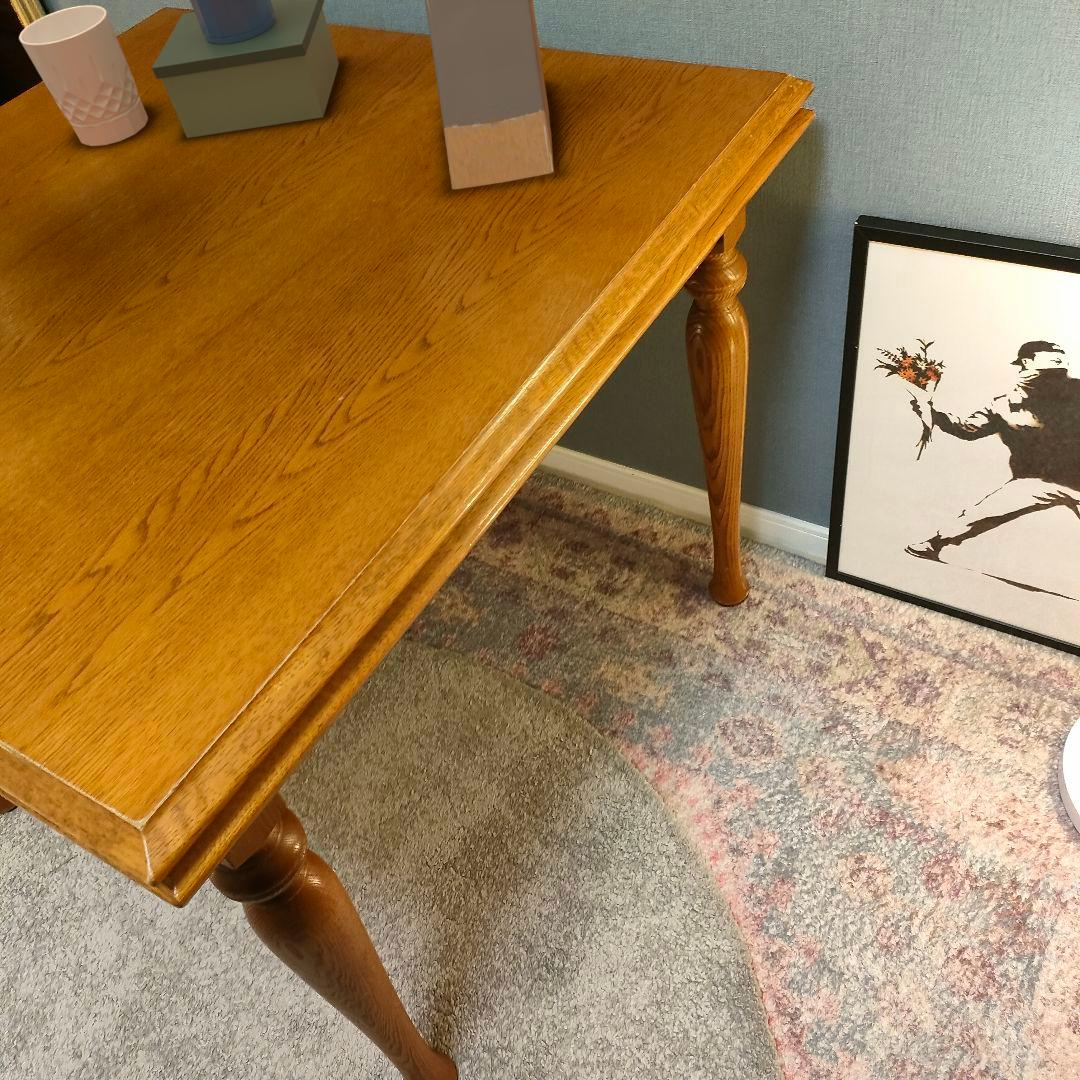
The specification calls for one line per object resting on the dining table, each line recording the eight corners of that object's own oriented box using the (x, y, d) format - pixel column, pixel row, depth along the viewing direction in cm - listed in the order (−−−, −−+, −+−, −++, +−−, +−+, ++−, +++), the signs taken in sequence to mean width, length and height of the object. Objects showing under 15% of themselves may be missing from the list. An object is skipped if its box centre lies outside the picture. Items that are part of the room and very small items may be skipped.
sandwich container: (449, 197, 79) (401, -4, 67) (451, 107, 89) (409, -81, 78) (557, 179, 78) (526, -27, 67) (546, 90, 88) (518, -101, 77)
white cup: (94, 161, 93) (38, 51, 85) (62, 138, 97) (5, 32, 90) (169, 124, 95) (120, 15, 88) (134, 103, 100) (85, -2, 92)
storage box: (184, 144, 92) (151, 67, 87) (211, 86, 100) (182, 13, 95) (327, 122, 91) (301, 43, 85) (343, 65, 98) (321, -10, 93)
